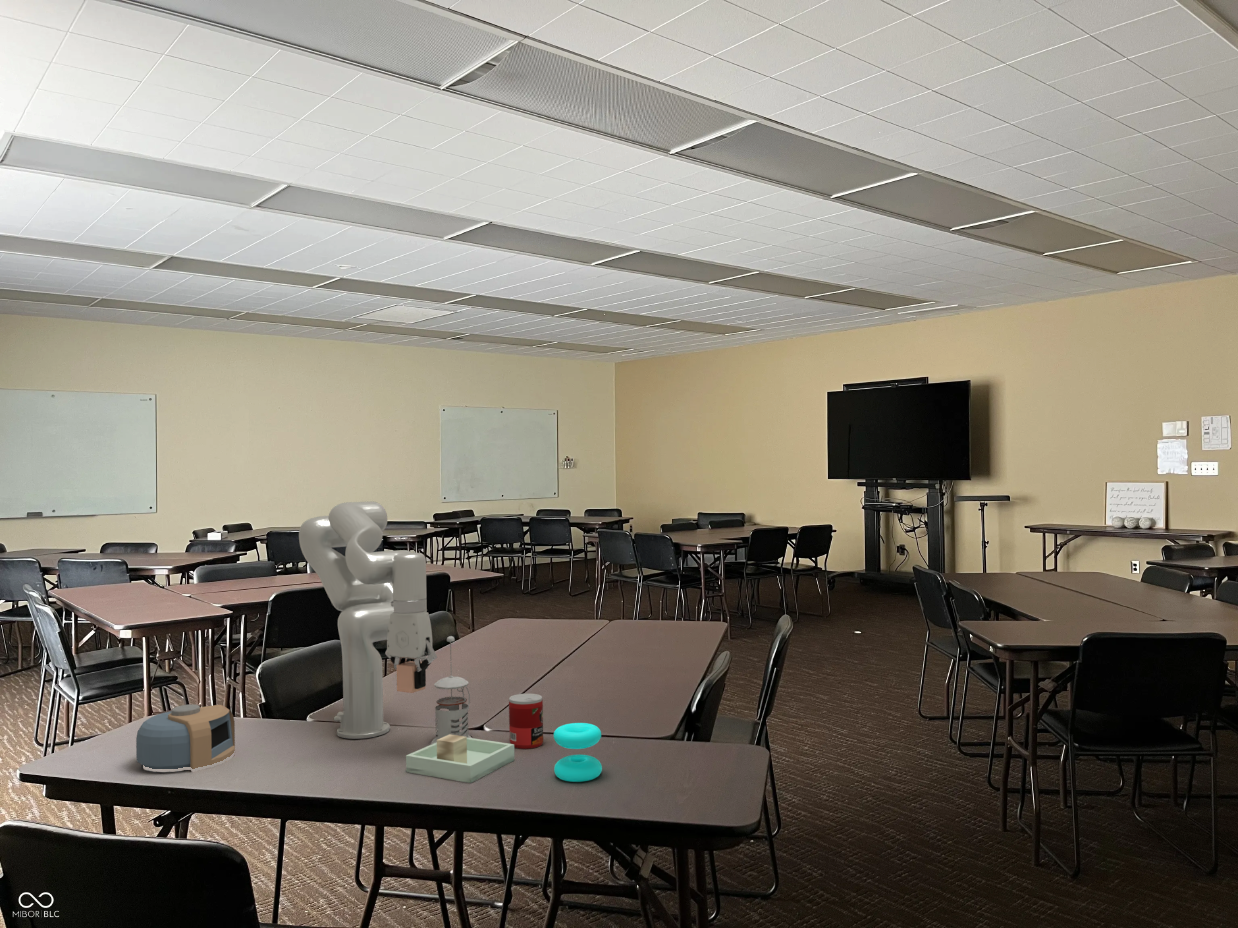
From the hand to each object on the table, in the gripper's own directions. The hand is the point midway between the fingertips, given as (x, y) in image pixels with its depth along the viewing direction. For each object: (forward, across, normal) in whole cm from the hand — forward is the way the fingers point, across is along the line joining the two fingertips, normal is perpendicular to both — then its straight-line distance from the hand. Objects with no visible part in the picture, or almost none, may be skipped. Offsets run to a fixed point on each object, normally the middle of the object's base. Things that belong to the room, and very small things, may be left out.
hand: (411, 685), depth 202 cm
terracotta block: (+1, 0, 0) cm, 1 cm away
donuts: (+16, +43, +2) cm, 45 cm away
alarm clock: (+16, -44, -25) cm, 53 cm away
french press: (+16, +3, +12) cm, 20 cm away
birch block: (+14, +16, -6) cm, 23 cm away
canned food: (+16, +21, +16) cm, 30 cm away
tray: (+15, +16, -3) cm, 22 cm away
